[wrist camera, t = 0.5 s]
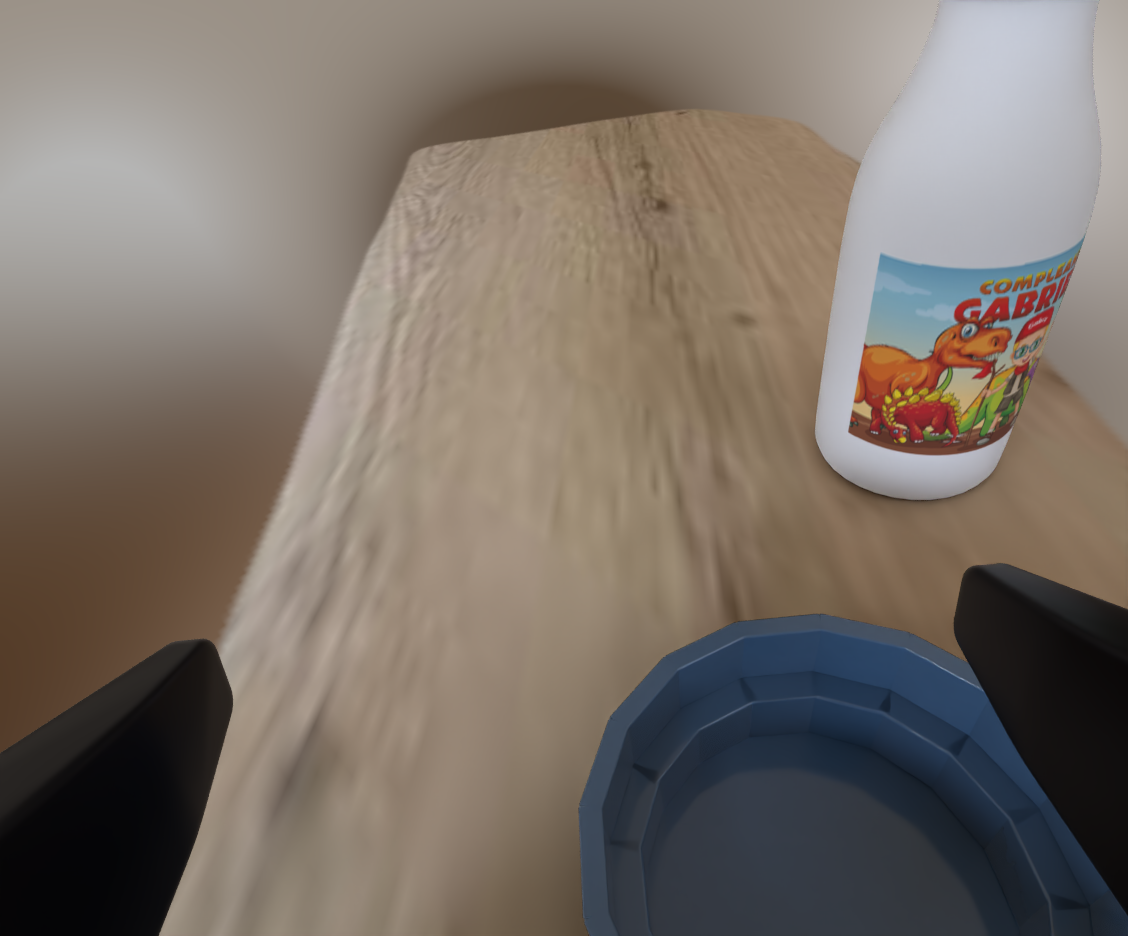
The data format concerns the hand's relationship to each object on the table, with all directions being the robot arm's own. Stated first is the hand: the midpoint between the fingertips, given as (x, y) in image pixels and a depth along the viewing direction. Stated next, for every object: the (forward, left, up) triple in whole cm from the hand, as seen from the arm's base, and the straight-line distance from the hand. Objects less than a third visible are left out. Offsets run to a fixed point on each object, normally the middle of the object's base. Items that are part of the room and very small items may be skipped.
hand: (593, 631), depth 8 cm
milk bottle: (+19, -14, -16) cm, 28 cm away
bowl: (+1, -5, -16) cm, 16 cm away
